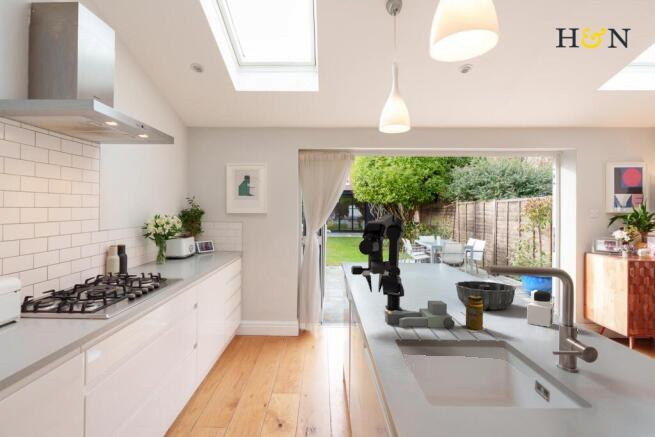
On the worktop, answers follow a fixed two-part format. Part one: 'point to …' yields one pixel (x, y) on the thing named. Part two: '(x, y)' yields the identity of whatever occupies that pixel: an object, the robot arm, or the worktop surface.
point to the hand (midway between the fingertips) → (375, 292)
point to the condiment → (474, 314)
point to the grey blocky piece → (429, 316)
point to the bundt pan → (487, 293)
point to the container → (540, 309)
